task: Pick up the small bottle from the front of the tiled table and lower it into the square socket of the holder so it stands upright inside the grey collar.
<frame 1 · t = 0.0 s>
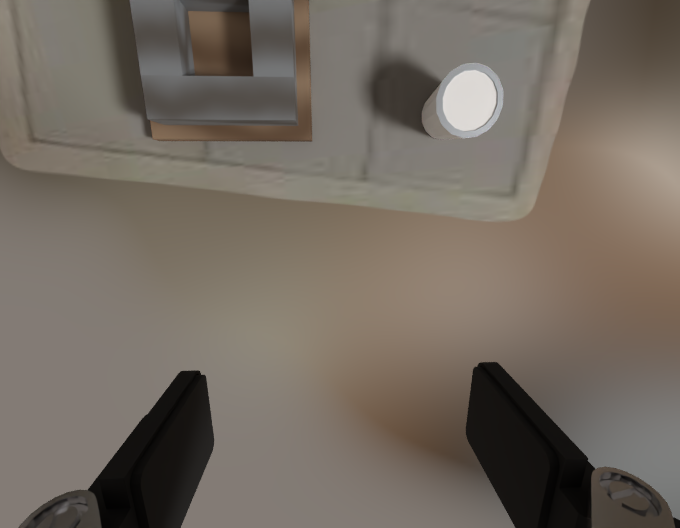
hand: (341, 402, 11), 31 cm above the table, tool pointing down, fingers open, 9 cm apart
white and grey cylinder: (443, 115, 38), on the table
holder: (229, 55, 35), on the table
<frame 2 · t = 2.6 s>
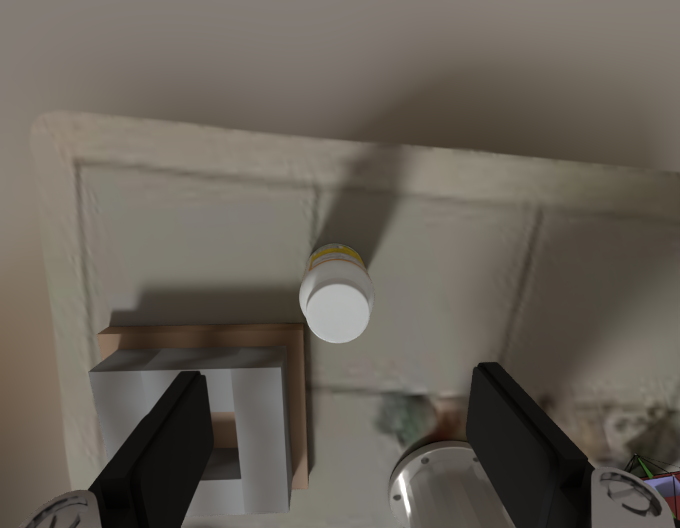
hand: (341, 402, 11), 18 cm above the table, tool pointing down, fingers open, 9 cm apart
geometric puzzle: (632, 468, 36), on the table
supplement bottle: (334, 271, 29), on the table
holder: (216, 407, 31), on the table
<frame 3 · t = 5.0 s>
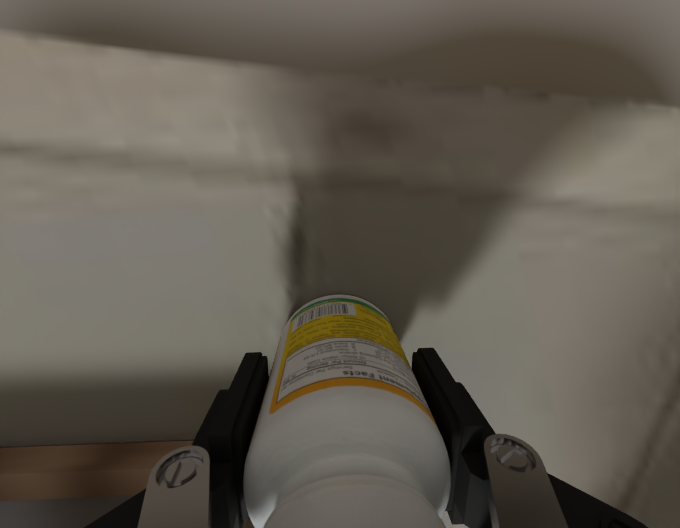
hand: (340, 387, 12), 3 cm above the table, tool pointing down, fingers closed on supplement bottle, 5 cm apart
supplement bottle: (337, 343, 15), on the table, touching gripper
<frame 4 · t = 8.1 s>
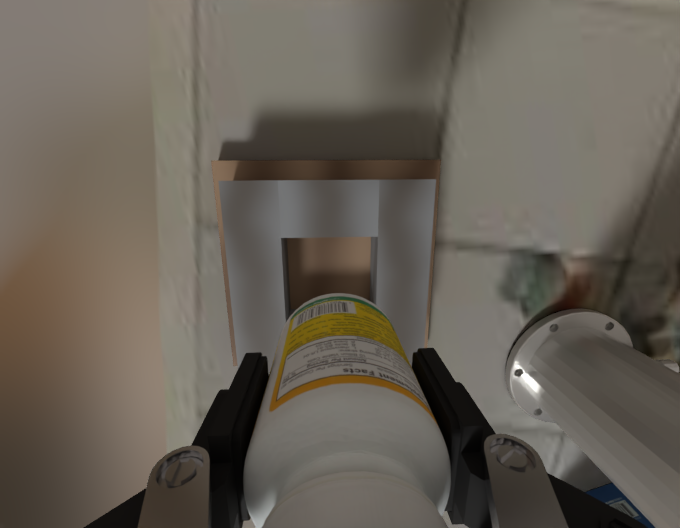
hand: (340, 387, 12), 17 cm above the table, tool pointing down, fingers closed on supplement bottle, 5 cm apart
supplement bottle: (337, 342, 15), point 14 cm above the table, touching gripper
protein box: (592, 517, 39), on the table
holder: (329, 265, 28), on the table
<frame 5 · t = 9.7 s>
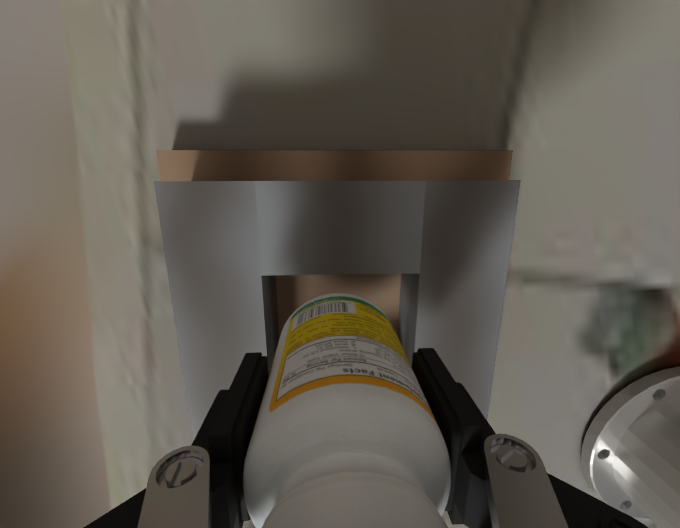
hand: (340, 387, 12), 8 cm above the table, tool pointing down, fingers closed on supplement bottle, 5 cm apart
supplement bottle: (337, 342, 15), point 5 cm above the table, touching gripper
holder: (338, 305, 20), on the table
when the fingers open (6 cm above the table, at t = 11.2 s): supplement bottle drops 2 cm, resting on holder.
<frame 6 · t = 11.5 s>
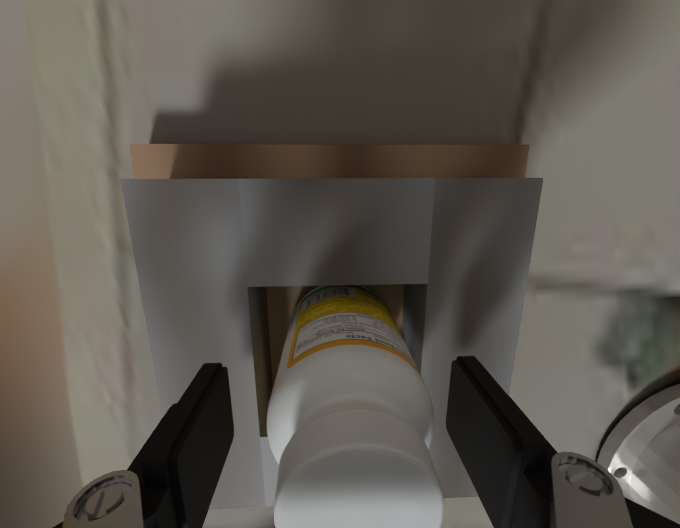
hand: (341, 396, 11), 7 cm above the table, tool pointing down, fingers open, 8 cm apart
supplement bottle: (340, 326, 17), point 1 cm above the table, touching holder
holder: (335, 314, 18), on the table
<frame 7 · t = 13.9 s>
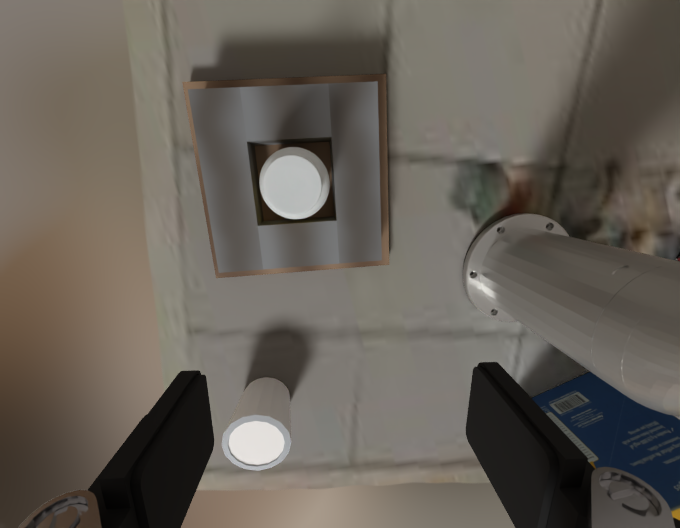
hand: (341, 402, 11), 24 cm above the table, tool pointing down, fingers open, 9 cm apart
white and grey cylinder: (267, 396, 38), on the table
supplement bottle: (298, 182, 30), point 1 cm above the table, touching holder
protein box: (554, 417, 43), on the table
holder: (296, 182, 32), on the table
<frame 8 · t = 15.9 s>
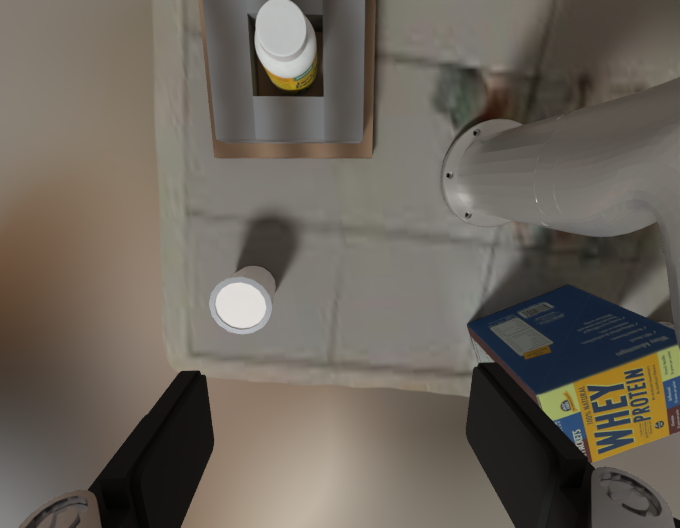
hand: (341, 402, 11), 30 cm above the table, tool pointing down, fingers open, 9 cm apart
white and grey cylinder: (254, 285, 41), on the table
supplement bottle: (293, 70, 34), point 1 cm above the table, touching holder
protein box: (524, 333, 45), on the table
holder: (292, 73, 35), on the table
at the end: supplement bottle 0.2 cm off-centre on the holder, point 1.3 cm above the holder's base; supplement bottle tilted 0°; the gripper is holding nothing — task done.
